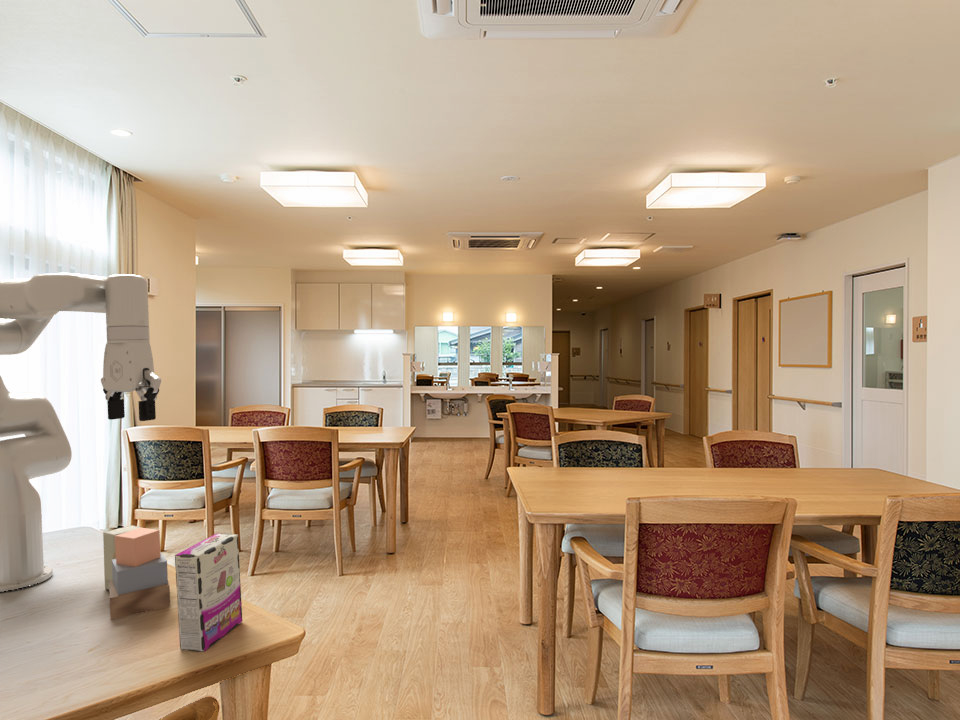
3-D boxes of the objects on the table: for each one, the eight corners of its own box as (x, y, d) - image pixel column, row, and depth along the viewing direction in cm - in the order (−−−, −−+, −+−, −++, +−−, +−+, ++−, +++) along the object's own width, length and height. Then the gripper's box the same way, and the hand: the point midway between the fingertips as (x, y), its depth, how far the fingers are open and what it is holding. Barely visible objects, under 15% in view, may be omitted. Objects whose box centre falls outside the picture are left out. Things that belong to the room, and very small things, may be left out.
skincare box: (114, 593, 124) (112, 535, 124) (103, 589, 127) (101, 532, 126) (145, 582, 130) (143, 527, 129) (134, 578, 132) (132, 524, 132)
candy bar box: (219, 620, 111) (215, 532, 110) (243, 622, 110) (240, 533, 109) (176, 651, 100) (173, 553, 99) (203, 653, 99) (199, 555, 98)
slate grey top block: (118, 595, 113) (117, 571, 113) (112, 581, 120) (111, 559, 120) (167, 583, 118) (166, 561, 118) (160, 571, 125) (159, 549, 125)
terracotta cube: (116, 563, 117) (114, 535, 117) (141, 554, 122) (140, 527, 122) (135, 566, 115) (134, 538, 115) (160, 557, 120) (159, 530, 120)
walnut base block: (110, 621, 112) (109, 598, 112) (110, 603, 120) (109, 581, 120) (170, 608, 117) (169, 585, 117) (165, 591, 126) (165, 569, 126)
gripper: (83, 337, 122) (86, 420, 122) (138, 334, 115) (142, 423, 115) (119, 337, 129) (122, 416, 129) (173, 334, 121) (176, 418, 122)
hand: (131, 419), depth 122 cm, fingers open, 9 cm apart
